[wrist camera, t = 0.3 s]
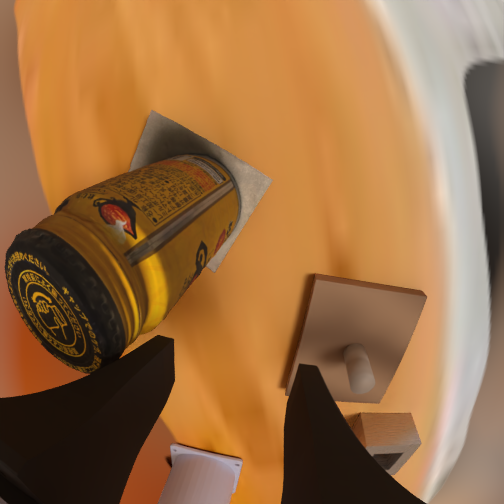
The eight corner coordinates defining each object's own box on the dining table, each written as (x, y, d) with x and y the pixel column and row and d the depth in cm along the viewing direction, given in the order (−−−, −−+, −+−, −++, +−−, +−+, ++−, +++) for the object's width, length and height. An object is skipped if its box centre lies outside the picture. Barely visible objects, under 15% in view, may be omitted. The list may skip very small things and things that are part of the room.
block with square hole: (388, 446, 23) (394, 474, 20) (341, 446, 24) (343, 477, 20) (410, 413, 22) (421, 443, 18) (360, 412, 22) (366, 446, 18)
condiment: (216, 271, 20) (114, 417, 9) (117, 204, 19) (-21, 289, 9) (274, 179, 16) (165, 304, 6) (154, 109, 16) (-29, 137, 5)
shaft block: (377, 395, 21) (387, 434, 17) (285, 387, 22) (283, 428, 18) (421, 290, 18) (448, 321, 14) (315, 273, 19) (320, 305, 15)
